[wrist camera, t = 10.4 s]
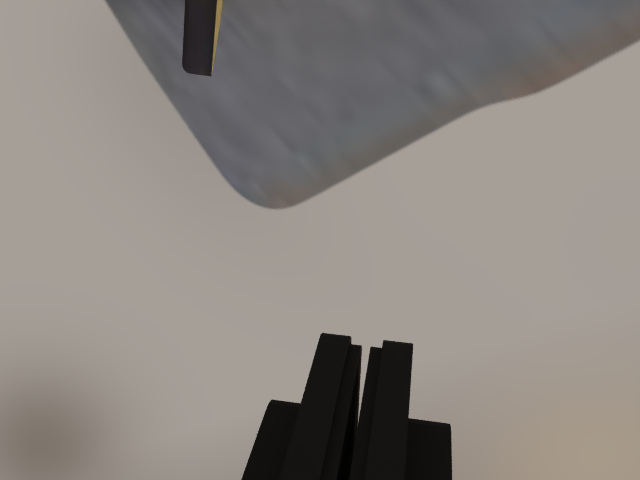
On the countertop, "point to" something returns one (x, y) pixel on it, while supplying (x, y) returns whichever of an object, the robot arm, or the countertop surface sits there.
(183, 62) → the picture frame
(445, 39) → the countertop surface
